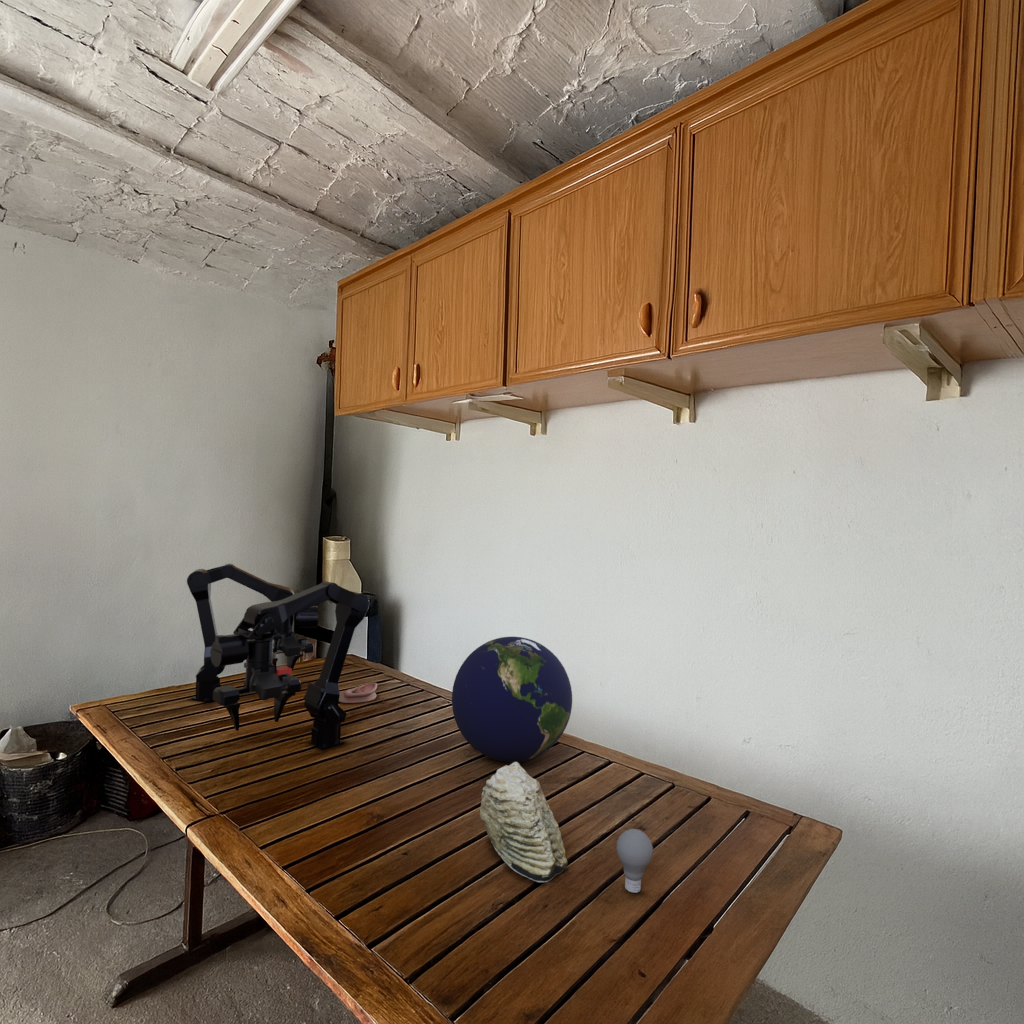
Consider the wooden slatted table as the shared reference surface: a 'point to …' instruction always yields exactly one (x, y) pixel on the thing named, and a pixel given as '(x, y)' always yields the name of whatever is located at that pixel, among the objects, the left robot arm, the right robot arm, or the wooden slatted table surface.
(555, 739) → the globe
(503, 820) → the fossil
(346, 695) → the anatomical model
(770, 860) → the wooden slatted table surface
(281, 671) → the block
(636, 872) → the light bulb
